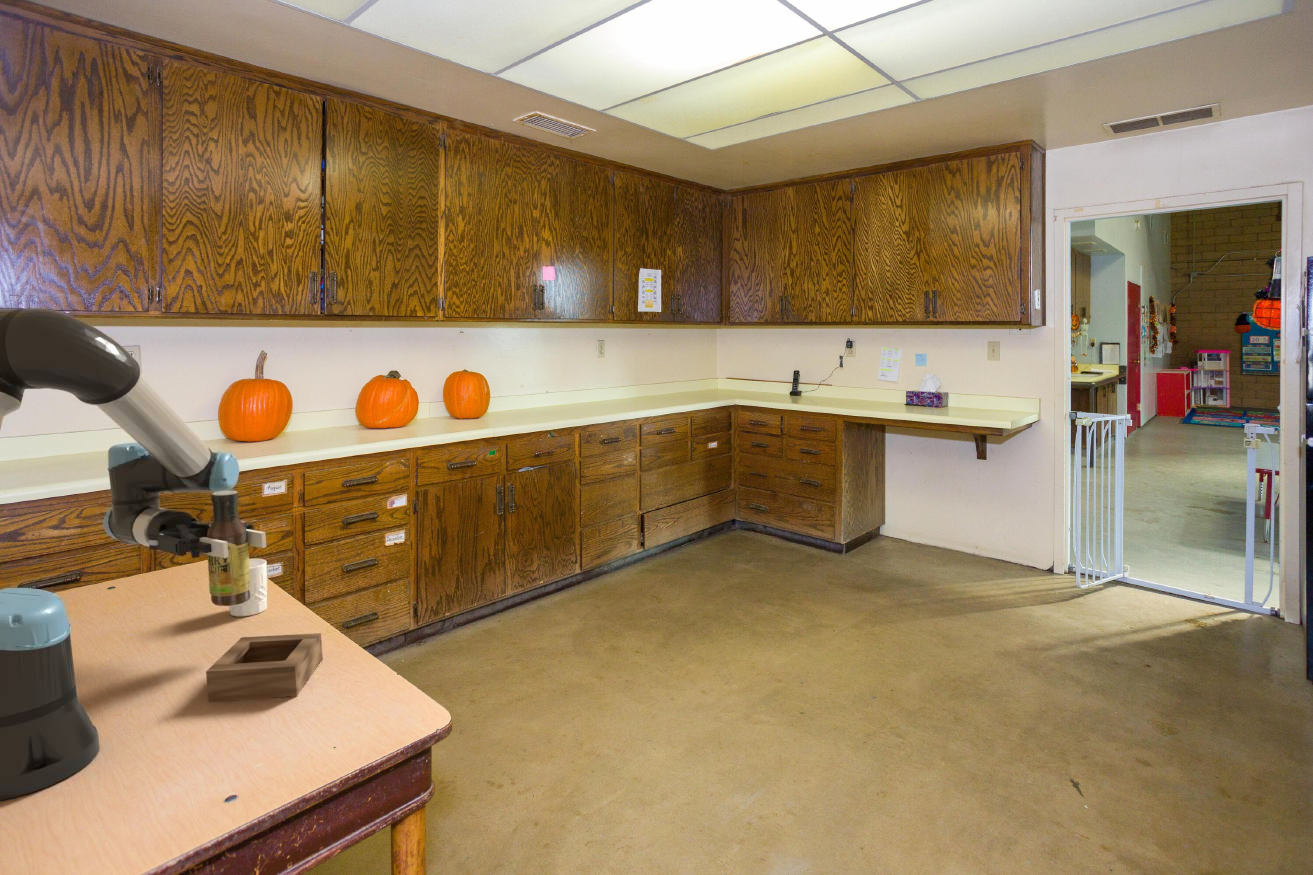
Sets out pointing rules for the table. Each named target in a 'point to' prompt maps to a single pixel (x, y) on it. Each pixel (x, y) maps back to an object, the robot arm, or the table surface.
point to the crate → (264, 667)
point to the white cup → (254, 590)
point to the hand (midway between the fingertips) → (245, 544)
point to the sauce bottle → (231, 572)
